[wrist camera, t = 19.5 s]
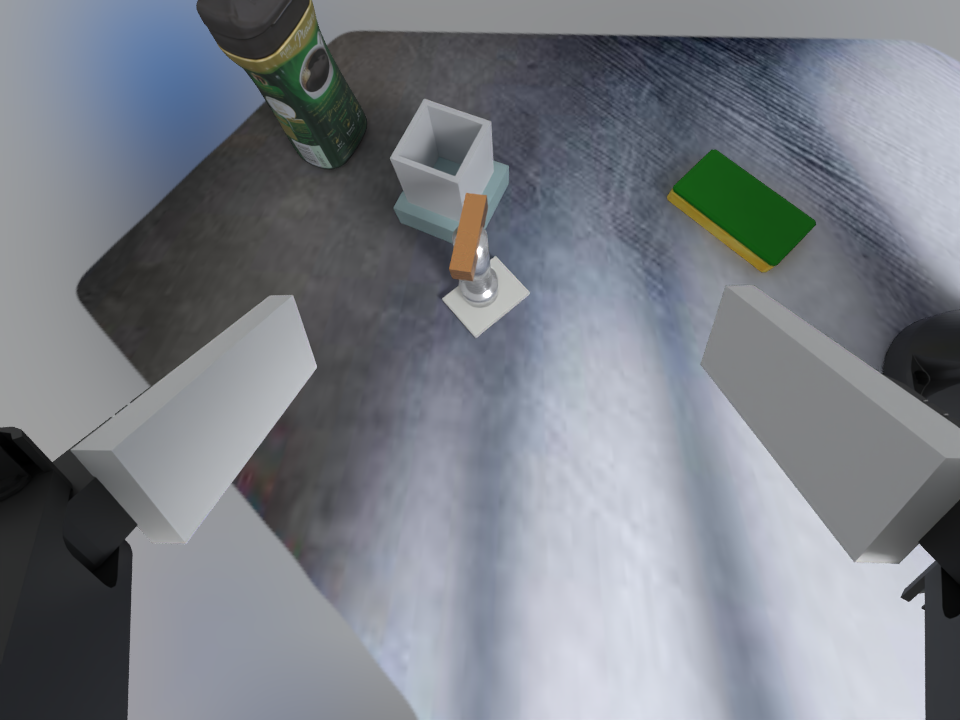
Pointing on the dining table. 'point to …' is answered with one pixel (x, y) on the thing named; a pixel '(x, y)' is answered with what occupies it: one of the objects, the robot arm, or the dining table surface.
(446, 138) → the square tube
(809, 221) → the dish sponge
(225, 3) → the coffee jar
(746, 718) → the dining table surface
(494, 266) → the mat
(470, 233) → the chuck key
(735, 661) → the dining table surface
